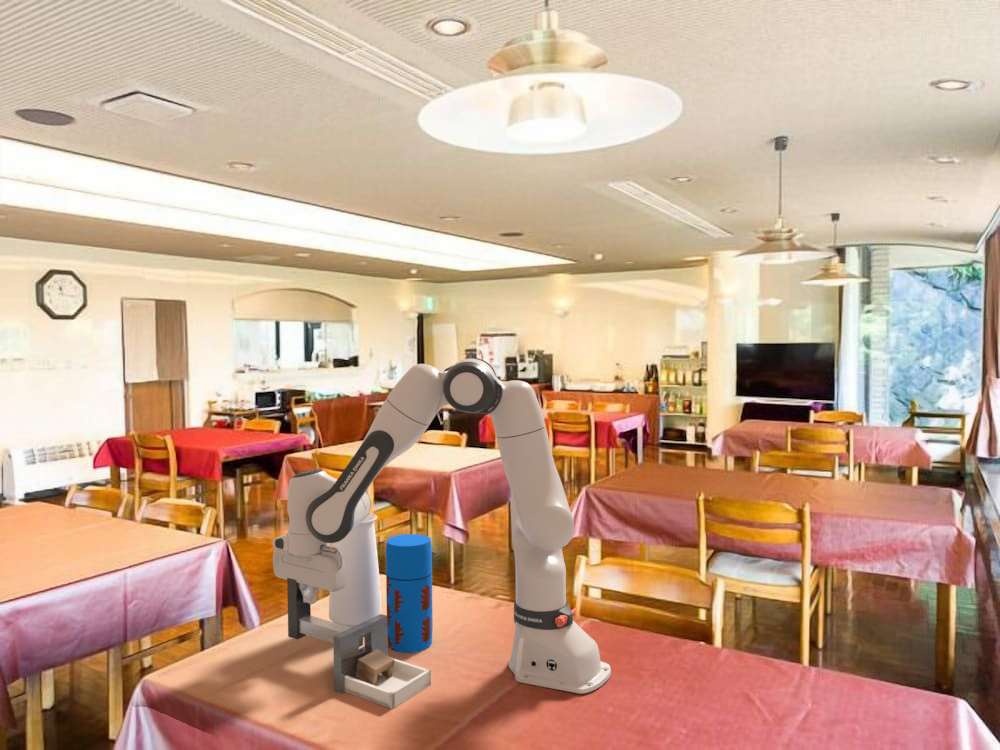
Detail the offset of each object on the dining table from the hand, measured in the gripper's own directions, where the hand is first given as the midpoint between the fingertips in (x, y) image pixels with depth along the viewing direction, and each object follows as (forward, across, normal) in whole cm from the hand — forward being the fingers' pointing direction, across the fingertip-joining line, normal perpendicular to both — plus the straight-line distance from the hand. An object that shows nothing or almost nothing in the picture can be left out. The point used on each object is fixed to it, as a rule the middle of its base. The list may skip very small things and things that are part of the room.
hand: (309, 602), depth 158 cm
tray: (+13, -23, 0) cm, 27 cm away
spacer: (+12, -19, 0) cm, 23 cm away
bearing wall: (+13, -16, 0) cm, 21 cm away
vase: (+14, +5, -19) cm, 24 cm away
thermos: (+14, -13, -19) cm, 27 cm away
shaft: (+8, -5, 0) cm, 10 cm away
